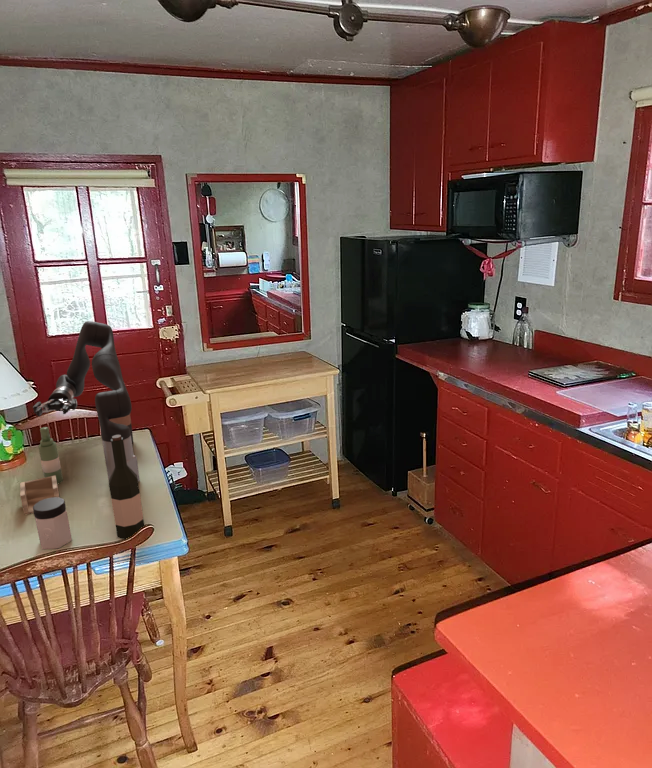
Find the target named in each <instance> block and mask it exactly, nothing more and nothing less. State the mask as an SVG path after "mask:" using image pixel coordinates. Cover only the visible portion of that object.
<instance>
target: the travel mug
mask: <svg viewBox="0 0 652 768" xmlns="http://www.w3.org/2000/svg"><path fill="white" fill-rule="evenodd" d="M109 421H111V422H113V423H117V424H123V425H126V426H128V427H129V428H130V433H131V440H132V443H133V444H134V437H133V436H134V435H133V427H132V419H131V413H130V414H129V415H128V416H125V417H120V418H114V419H109Z"/></svg>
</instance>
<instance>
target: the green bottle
mask: <svg viewBox="0 0 652 768" xmlns="http://www.w3.org/2000/svg"><path fill="white" fill-rule="evenodd" d="M39 431H40V438H41V440H40V441H39V443H40V444H38V446H37V447H38V448H37V449H38V453H39V457H40V463H41V469H42V473H43V478H45V477H50V476H54V475H56V480H57V485H59V484H61V483H63V481H64V477H63V471H62V466H61V461H60V455H59V452H58V451H59V450H58V447H57V442H56V441H54V438H52V437H51V435H50V430H49V427H48V426H44V427H41V428H40V429H39ZM58 483H59V484H58Z"/></svg>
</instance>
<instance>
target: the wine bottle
mask: <svg viewBox="0 0 652 768" xmlns="http://www.w3.org/2000/svg"><path fill="white" fill-rule="evenodd" d="M111 444H112V450H113V456H114V463H115V468H114V470H113V473H112V475H111V477H110V479H109V480H108V487H109V493H110V500H111V505H112V513H113V518H114V524H115V530H116V536H117V537H116V538H118V539H122V540H125V539H126V538H128V537H130V536H132V535H133V534H134V533H135V532H137V531H138V530H139V529H140V528H141V527H143V526H145V519H144V514H143V506H142V500H141V493H140V486H139V482H138V478H137V475H136V474H135V473H134V471H133V470H132V469H131V468H130V467H129V466H128V465H127V462H126V455H125V448H124V442H123V437H121V435H114V436H112V439H111Z"/></svg>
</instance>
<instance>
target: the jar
mask: <svg viewBox="0 0 652 768" xmlns="http://www.w3.org/2000/svg"><path fill="white" fill-rule="evenodd" d="M33 511H34V513H33V516H34V519H35V524H36V525H35V526H36V530H37V534H38V538H39V539H38V540H39V543H40V546H41V549H42V550H55V549H60V548H62V547H63V546H65V545H67V544H68V543H70V542H71V541H73V538H72V533H71V527H70V522H69V516H68V511H67V507H66V502H65V499H64V498H62V497H60V496H59V497H52V498H47V499H44V500H41V501H39V502H37V503H36V504H35V505H34V506H33Z"/></svg>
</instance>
